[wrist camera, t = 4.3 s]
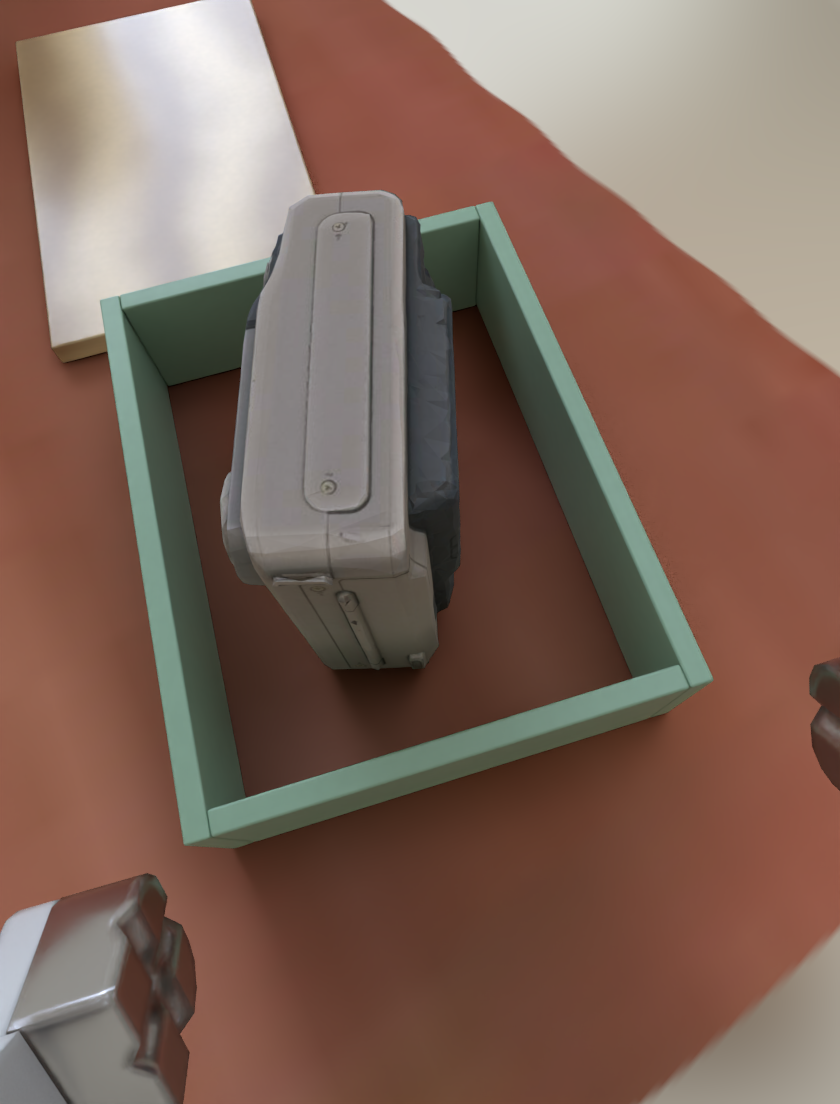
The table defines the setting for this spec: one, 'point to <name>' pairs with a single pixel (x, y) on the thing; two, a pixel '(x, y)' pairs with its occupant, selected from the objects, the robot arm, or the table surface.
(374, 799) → the bin
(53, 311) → the board
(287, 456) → the camera
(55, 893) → the table surface
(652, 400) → the table surface
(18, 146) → the table surface
